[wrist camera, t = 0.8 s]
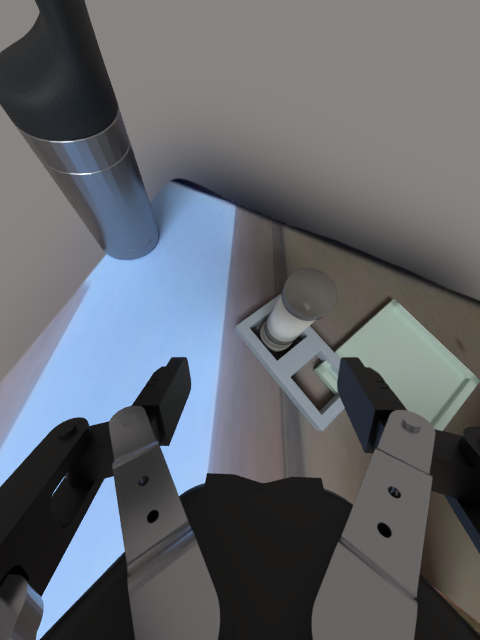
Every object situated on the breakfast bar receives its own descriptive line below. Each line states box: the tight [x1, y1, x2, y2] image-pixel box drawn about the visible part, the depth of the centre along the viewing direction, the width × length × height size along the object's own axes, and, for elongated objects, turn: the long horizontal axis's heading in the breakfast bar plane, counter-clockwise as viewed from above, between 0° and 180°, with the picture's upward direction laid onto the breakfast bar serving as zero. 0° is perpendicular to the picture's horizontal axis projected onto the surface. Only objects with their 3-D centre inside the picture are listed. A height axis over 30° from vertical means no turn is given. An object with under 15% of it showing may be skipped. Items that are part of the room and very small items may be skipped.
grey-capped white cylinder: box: [259, 268, 337, 352], centre depth 28 cm, size 5×5×14 cm
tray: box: [313, 299, 480, 431], centre depth 33 cm, size 16×18×1 cm
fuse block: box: [235, 294, 345, 431], centre depth 32 cm, size 17×8×2 cm, turn 39°
